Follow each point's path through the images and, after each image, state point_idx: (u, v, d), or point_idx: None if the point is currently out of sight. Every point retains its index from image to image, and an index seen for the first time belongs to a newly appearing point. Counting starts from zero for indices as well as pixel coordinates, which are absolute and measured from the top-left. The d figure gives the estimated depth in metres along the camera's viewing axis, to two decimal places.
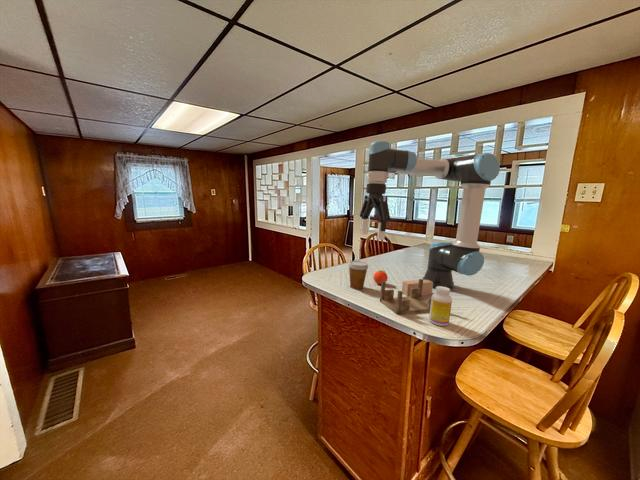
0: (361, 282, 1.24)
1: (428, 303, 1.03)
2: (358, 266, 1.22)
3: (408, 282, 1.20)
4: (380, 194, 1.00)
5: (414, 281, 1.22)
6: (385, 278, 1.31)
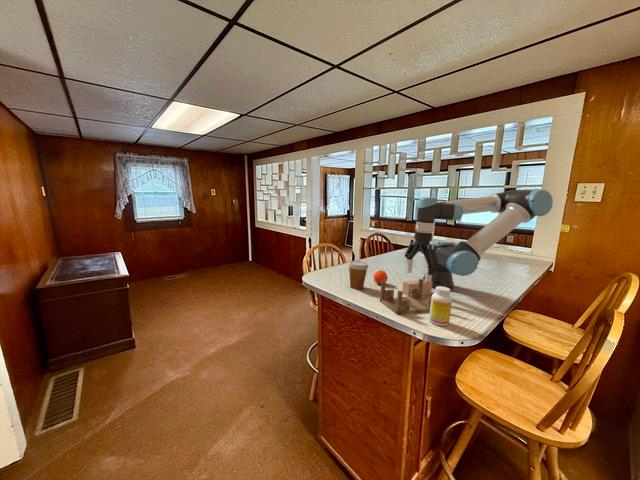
0: (361, 282, 1.24)
1: (428, 303, 1.03)
2: (358, 266, 1.22)
3: (409, 282, 1.20)
4: (428, 242, 1.16)
5: (414, 281, 1.22)
6: (385, 278, 1.31)
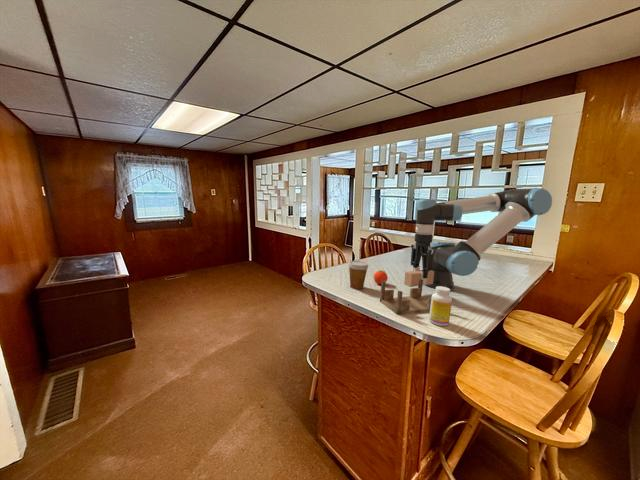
0: (361, 282, 1.24)
1: (428, 303, 1.03)
2: (358, 266, 1.22)
3: (411, 272, 1.19)
4: (428, 244, 1.16)
5: (416, 271, 1.21)
6: (385, 278, 1.31)
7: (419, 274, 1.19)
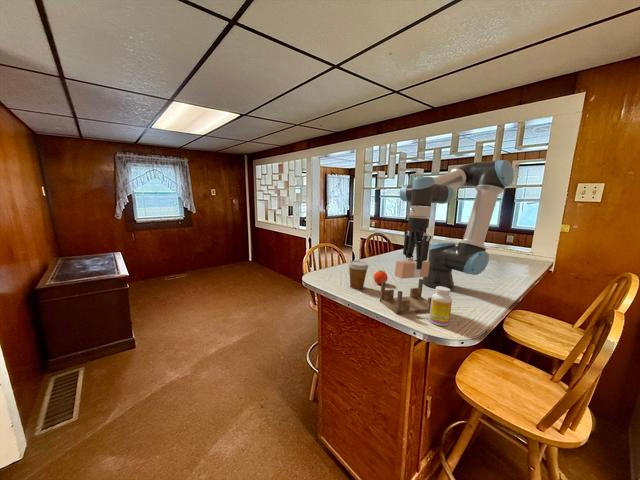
0: (361, 282, 1.24)
1: (428, 303, 1.03)
2: (358, 266, 1.22)
3: (403, 262, 1.02)
4: (424, 229, 0.99)
5: (409, 261, 1.04)
6: (385, 278, 1.31)
7: (412, 264, 1.02)
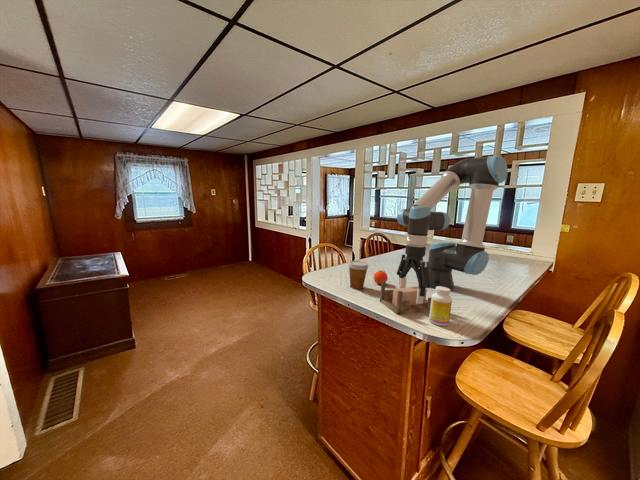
0: (361, 282, 1.24)
1: (428, 303, 1.03)
2: (358, 266, 1.22)
3: (400, 290, 1.04)
4: (421, 257, 1.01)
5: (406, 289, 1.06)
6: (385, 278, 1.31)
7: (409, 292, 1.04)
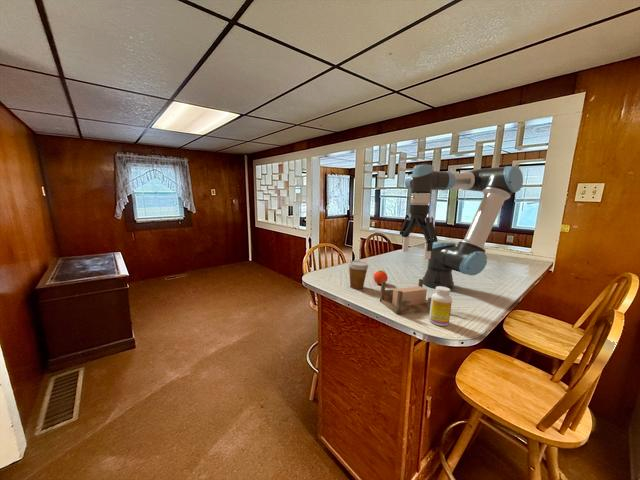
0: (361, 282, 1.24)
1: (428, 303, 1.03)
2: (358, 266, 1.22)
3: (400, 290, 1.04)
4: (425, 215, 1.04)
5: (406, 289, 1.06)
6: (385, 278, 1.31)
7: (409, 292, 1.04)
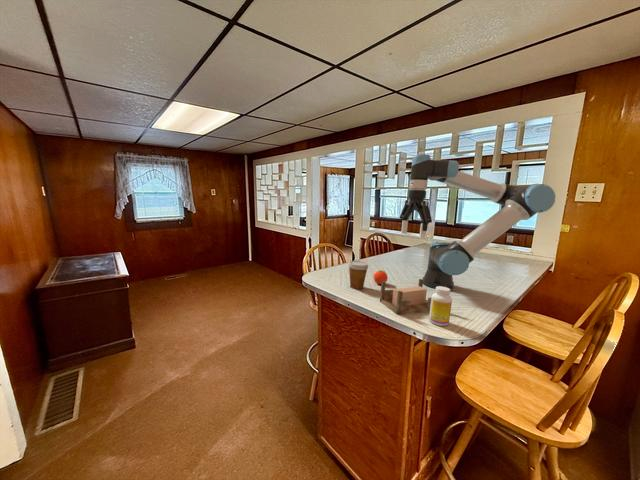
0: (361, 282, 1.24)
1: (428, 303, 1.03)
2: (358, 266, 1.22)
3: (400, 290, 1.04)
4: (422, 199, 1.17)
5: (406, 289, 1.06)
6: (385, 278, 1.31)
7: (409, 292, 1.04)
